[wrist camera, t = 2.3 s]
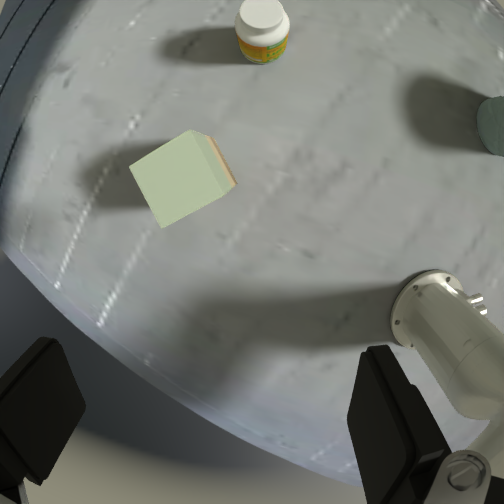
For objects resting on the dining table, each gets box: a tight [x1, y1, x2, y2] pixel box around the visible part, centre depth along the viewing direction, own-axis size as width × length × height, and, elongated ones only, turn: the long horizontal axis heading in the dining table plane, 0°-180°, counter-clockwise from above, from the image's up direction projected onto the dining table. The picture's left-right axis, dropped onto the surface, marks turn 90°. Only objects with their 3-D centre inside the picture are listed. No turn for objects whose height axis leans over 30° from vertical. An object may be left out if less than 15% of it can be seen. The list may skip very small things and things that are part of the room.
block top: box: [129, 130, 232, 229], centre depth 27 cm, size 6×6×6 cm
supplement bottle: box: [235, 0, 290, 64], centre depth 26 cm, size 5×5×10 cm
